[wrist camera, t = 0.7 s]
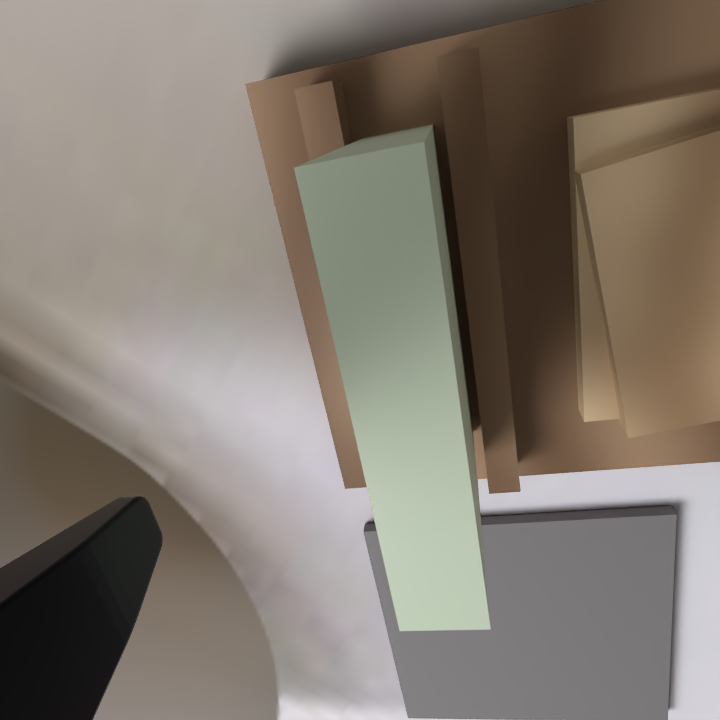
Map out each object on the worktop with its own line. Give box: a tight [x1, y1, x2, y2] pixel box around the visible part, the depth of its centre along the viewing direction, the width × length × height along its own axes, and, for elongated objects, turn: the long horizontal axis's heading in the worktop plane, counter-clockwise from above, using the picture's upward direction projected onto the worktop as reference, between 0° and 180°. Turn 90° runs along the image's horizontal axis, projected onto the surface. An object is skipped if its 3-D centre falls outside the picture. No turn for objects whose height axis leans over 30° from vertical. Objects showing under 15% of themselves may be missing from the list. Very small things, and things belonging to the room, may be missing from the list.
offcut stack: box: [567, 87, 720, 438], centre depth 15 cm, size 6×9×2 cm, turn 11°
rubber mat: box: [364, 506, 677, 720], centre depth 24 cm, size 12×12×1 cm
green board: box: [294, 124, 491, 631], centre depth 14 cm, size 2×10×8 cm, turn 11°
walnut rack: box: [245, 0, 720, 494], centre depth 16 cm, size 16×14×4 cm
